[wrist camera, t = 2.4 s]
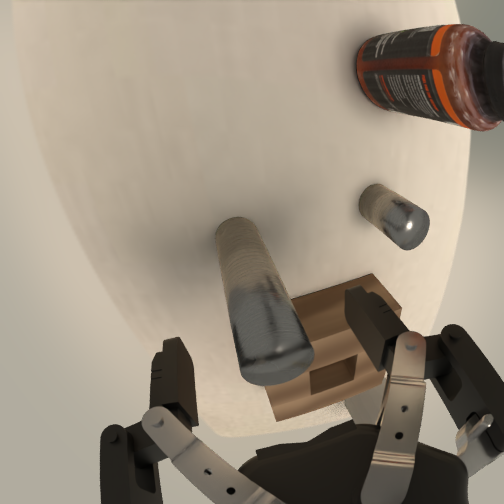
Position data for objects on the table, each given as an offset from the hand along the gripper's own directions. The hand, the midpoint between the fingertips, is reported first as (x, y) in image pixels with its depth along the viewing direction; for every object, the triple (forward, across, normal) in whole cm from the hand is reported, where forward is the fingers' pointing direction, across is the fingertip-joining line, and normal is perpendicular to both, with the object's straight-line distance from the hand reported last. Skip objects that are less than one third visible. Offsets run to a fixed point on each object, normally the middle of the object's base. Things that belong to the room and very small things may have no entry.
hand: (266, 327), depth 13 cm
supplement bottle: (+8, -13, -10) cm, 19 cm away
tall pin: (+8, 0, 0) cm, 9 cm away
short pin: (+8, -11, 0) cm, 14 cm away
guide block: (+9, -5, +12) cm, 16 cm away
